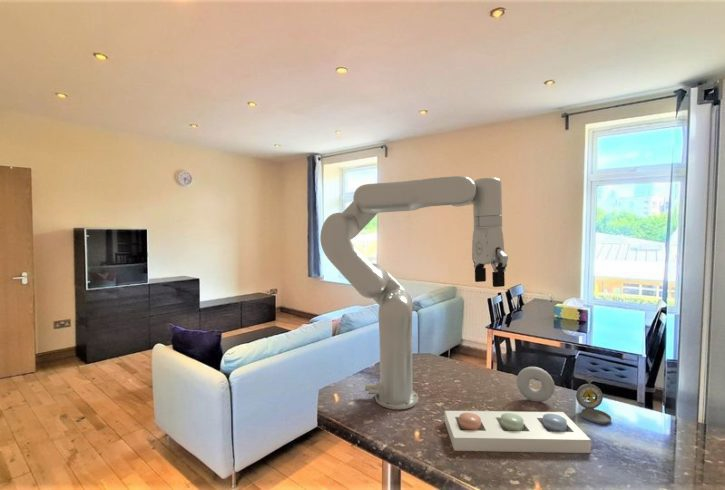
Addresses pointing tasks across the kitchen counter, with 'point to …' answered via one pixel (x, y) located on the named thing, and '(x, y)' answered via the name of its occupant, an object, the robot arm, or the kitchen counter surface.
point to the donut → (535, 394)
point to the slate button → (554, 423)
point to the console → (516, 434)
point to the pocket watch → (591, 402)
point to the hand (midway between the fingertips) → (489, 283)
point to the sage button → (511, 422)
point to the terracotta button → (470, 421)
